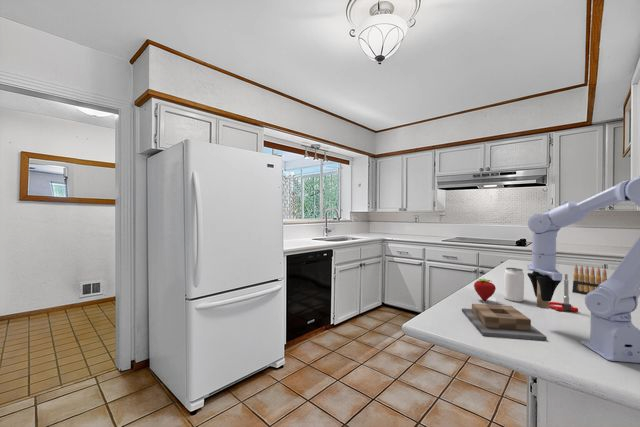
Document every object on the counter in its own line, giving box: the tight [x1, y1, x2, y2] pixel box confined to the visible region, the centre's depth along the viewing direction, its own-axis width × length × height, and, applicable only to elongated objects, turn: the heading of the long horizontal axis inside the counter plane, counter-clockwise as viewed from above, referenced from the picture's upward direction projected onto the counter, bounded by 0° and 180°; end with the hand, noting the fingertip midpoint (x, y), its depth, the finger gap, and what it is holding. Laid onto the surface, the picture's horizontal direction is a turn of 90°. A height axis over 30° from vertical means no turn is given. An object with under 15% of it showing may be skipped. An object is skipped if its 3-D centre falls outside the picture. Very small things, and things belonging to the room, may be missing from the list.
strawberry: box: [473, 278, 497, 302], centre depth 114 cm, size 6×8×10 cm
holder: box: [461, 303, 548, 341], centre depth 91 cm, size 20×16×4 cm
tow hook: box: [549, 273, 579, 313], centre depth 107 cm, size 8×13×9 cm
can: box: [503, 267, 525, 303], centre depth 116 cm, size 6×6×12 cm
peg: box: [536, 280, 550, 310], centre depth 89 cm, size 3×3×8 cm
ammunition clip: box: [571, 264, 608, 296], centre depth 122 cm, size 11×2×12 cm, turn 37°
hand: (543, 298), depth 89 cm, fingers closed on peg, 3 cm apart
